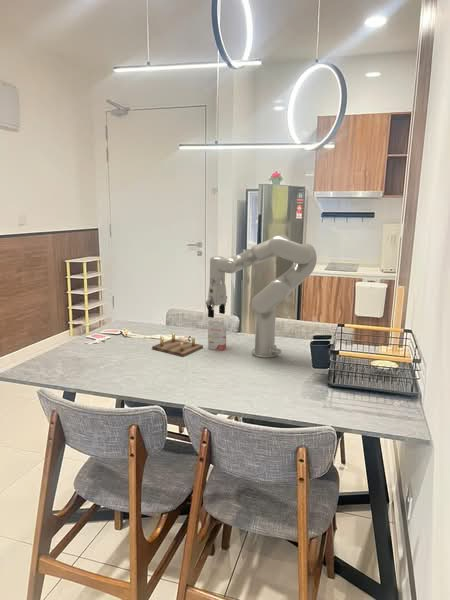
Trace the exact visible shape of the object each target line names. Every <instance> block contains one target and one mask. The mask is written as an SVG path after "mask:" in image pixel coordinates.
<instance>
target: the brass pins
mask: <svg viewBox="0 0 450 600" xmlns="http://www.w3.org/2000/svg"><path fill="white" fill-rule="evenodd" d="M171 339H172V342H175V339H176V333H171ZM159 341H160V342H159V344H160V346H164V342H165V341H164V337H160V338H159ZM191 343H192V346H195V344H196V338H195V337H191ZM180 351H184V343H183V342H181V343H180Z"/></svg>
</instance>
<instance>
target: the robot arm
mask: <svg viewBox="0 0 450 600" xmlns="http://www.w3.org/2000/svg"><path fill="white" fill-rule="evenodd" d="M275 257H279V258H281V259H283V260H287V261H288V262H289V261H290V262H292V263H294V264H293V265H292V266H291V267H290V268H289V269H288V270H287V271H285V272H284V273H283V274H281V275H280V276H278V277H276V278H275V279H273V280H272V281H271V282H269V284H267V285H266V286H265V287H264V288H263V289H261V290H260V291H259V292H258V293H257V294H255V295H254V296H253V298H252V299H251V304H250V305H251V309H252V311H253V312H255V323H254V324H255V327H254V330H255V331H254V332H255V334H254V335H255V336H254V348H253V349H252V350H251V355H252V356H254V357H257V358H263V359H267V358H268V359H269V358H274V357H276V356H278V355H282V349H281V348H277V344H275V343H276V342H275V341H276V316H277V306H278V305H279V304H281V302H282V301H284V300H285V299H286V298H287V297H288V296H289V295H290V294H291V293H292V292H293V291H294V290H295V289H296V288H297V287H299V286H300V285H301V284H302V283H303V282H304V281H305V280H306V279H308V278H309V277H310V275H311V274H312V273H313V271H314V270H315V268H316V265H317V259H318V258H317V252H316V249H315V247H314V246H313V245H311V244H309V243H307V242H306V243H302V244H301V243H298V242H295V241H292V240H290V239H289V236H287V235H284V234H278V235H275V236H273V237H272V238H269V239H267V240H264V241H262V242H261V243H260V242H259V243H258V244H255V245H254V246H252V247H251V248H250V249H248V250H246V251H244V252H241V253H239V254H236V255H234V256H230V257H223V256H218V255H217V256H216V255H215V256H211V257H210V258H209V259H210V260H209V287H208V296H207V300H206V301H205V304H206V308H207V309H206V310H207V318H212V319H214V318H215V309H214V308H215V306H217V307H218V308H219V309H218V313H219V314H220V315H221V314H223V315H225V313H226V306H227V305H226V303H227V302H228V301H227V299H228V296H227V287H226V283H225V282H226V274H234V273H236V272H239V271H242V270H243V269H246V268H248V267H251V266H253V265H257V264H261V263H263V262H266V261H269V260H270V259H273V258H275Z"/></svg>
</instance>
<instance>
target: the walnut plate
mask: <svg viewBox="0 0 450 600" xmlns="http://www.w3.org/2000/svg"><path fill="white" fill-rule="evenodd" d="M181 342H183V343H184V351H180V343H181ZM151 349H152V350H154V351H158V352H162V353H165V354H169V355H170V354H171V355H174V356H177V357H182V358H184V357H186V356H188V355H191V354H192V353H196V352H198V351H200V350H202V349H204V345H203V344H199V343H195V346H192V342H189V341H185V340H180V339H176V338H175V342H172V338H171V339H169V340H165V341H164V346H160V343H158V344H155V345H152V347H151Z"/></svg>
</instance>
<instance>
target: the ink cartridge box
mask: <svg viewBox="0 0 450 600" xmlns="http://www.w3.org/2000/svg"><path fill="white" fill-rule="evenodd" d="M207 323H208V326H207V349H208V350H217V351H224V350H225V349H227V325H224V322H223V321H215V320H208V321H207Z"/></svg>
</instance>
